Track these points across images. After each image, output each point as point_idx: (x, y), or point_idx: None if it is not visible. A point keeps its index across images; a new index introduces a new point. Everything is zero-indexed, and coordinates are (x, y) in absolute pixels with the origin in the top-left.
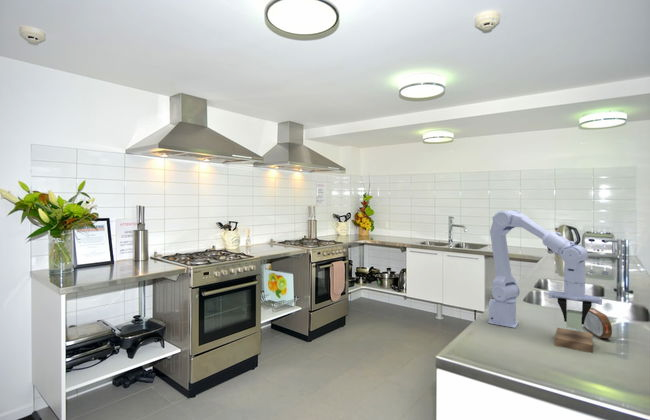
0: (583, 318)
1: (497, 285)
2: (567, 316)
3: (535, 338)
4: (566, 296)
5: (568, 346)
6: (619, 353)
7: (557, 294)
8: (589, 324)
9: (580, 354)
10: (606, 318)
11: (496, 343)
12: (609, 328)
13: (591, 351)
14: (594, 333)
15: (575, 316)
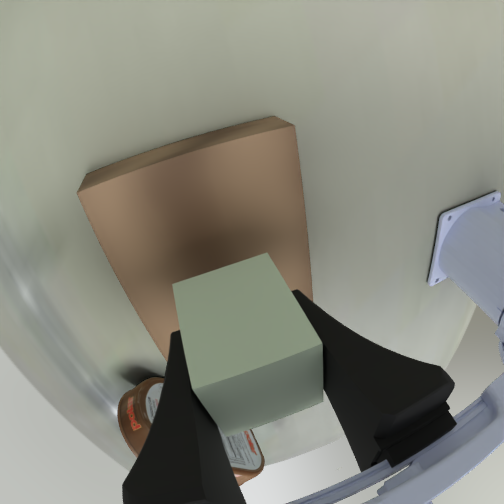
0: (177, 369)
1: None
2: (297, 314)
3: (369, 150)
4: (421, 493)
5: (205, 135)
6: (26, 281)
7: (489, 446)
8: None
9: (121, 86)
10: None
11: None
12: (125, 420)
13: (90, 175)
14: None
15: (236, 347)
